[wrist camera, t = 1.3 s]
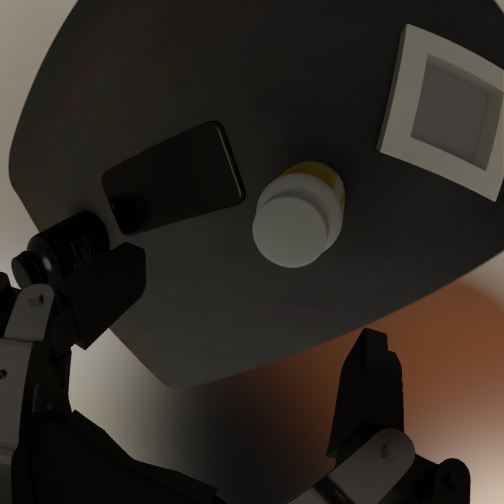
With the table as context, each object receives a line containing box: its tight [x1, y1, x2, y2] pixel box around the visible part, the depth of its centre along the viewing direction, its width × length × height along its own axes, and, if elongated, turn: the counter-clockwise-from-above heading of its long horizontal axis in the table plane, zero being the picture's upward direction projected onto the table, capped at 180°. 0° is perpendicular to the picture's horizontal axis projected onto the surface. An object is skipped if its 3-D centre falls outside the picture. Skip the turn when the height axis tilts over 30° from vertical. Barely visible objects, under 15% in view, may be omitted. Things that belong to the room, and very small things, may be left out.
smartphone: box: [101, 121, 245, 236], centre depth 27 cm, size 8×1×16 cm
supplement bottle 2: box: [253, 161, 345, 268], centre depth 19 cm, size 5×5×10 cm
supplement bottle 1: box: [11, 212, 109, 290], centre depth 29 cm, size 7×7×12 cm
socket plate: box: [376, 24, 504, 202], centre depth 16 cm, size 10×10×3 cm
